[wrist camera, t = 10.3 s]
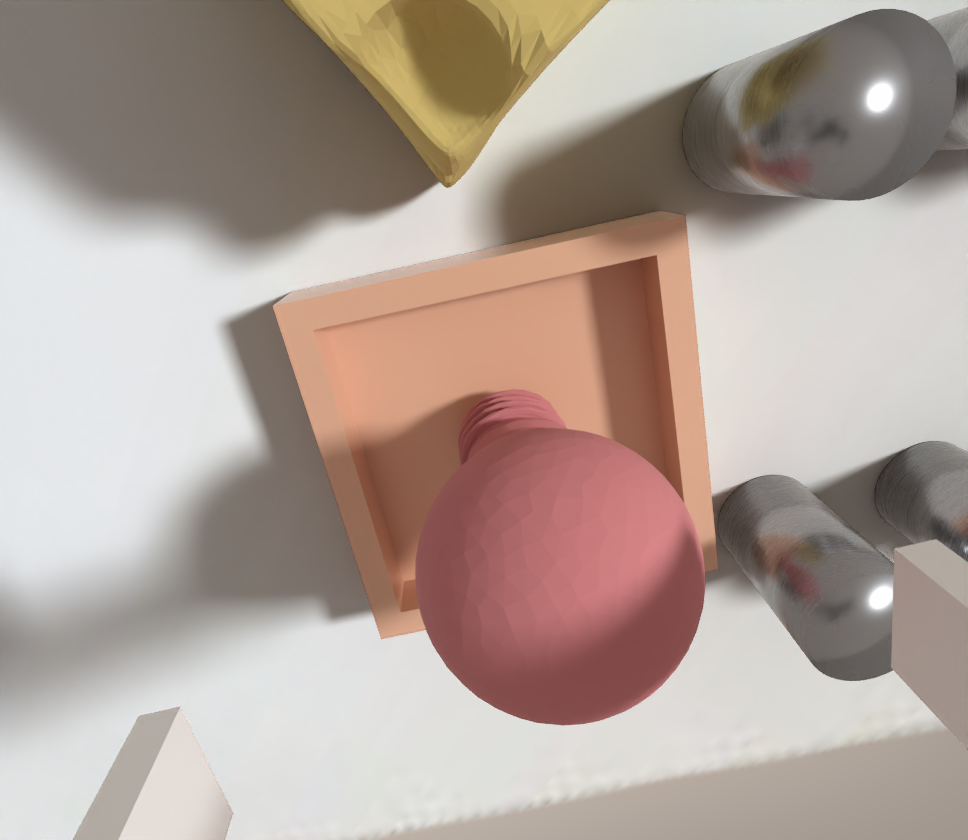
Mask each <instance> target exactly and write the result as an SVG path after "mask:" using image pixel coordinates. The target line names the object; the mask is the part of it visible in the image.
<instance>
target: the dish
mask: <svg viewBox="0 0 968 840" xmlns="http://www.w3.org/2000/svg"><path fill="white" fill-rule="evenodd" d="M273 309H274V312H275V315H276V318H277V321H278V325H279V328H280V331H281V334H282V337H283V340H284V343H285V346H286V349H287V352H288V355H289V358H290V361H291V364H292V367H293V370H294V374H295V377H296V380H297V383H298V386H299V389H300V392H301V395H302V398H303V401H304V404H305V407H306V410H307V413H308V416H309V419H310V422H311V426H312V429H313V432H314V435H315V438H316V441H317V444H318V447H319V450H320V453H321V456H322V459H323V462H324V465H325V468H326V471H327V475H328V478H329V481H330V484H331V487H332V490H333V493H334V496H335V499H336V502H337V505H338V508H339V511H340V514H341V517H342V520H343V523H344V527H345V530H346V533H347V536H348V539H349V542H350V545H351V548H352V551H353V554H354V557H355V560H356V563H357V566H358V569H359V572H360V575H361V579H362V582H363V585H364V588H365V591H366V594H367V597H368V600H369V603H370V606H371V609H372V612H373V615H374V618H375V621H376V624H377V628H378V631H379V634H380V637H381V639H384V638H389V637H394V636H399V635H403V634H408V633H413V632H418V631H423V630H426V628H425V625H424V623H423V620H422V617H421V613H420V609H419V604H418V599H417V594H416V580H415V561H416V553H417V548H418V543H419V537H420V533H421V530H422V527H423V524H424V521H425V518H426V515H427V513H428V511H429V509H430V507H431V506H432V504H433V502H434V500H435V499H436V497H437V495H438V493H439V491H440V490H441V488H442V487H443V485H444V484H445V483H446V482H447V480H448V479H449V478H450V477H451V476H452V475H453V473H454V472H455V471H456V470H457V469H458V468H459V467H460V466H461V465H460V456H459V448H458V438H459V432H460V429H461V425H462V421H463V420H464V418H465V416H466V415H467V413H468V412H469V410H470V409H471V408H472V407H473V406H474V405H475V404H476V403H477V402H479V401H480V400H482V399H483V398H485V397H486V396H488V395H491V394H493V393H496V392H500V391H506V390H512V389H517V390H526V391H529V392H532V393H535V394H539V395H540V396H541V397H543V398H544V399H545V400H547V401H548V402H550V404H551V405H552V406H553V408H554V409H555V411H556V412H557V414H558V415H559V416H560V418H561V419H562V420H563V421H564V423H565V425H566V427H567V429H572V430H579V431H585V432H590V433H593V434H597V435H601V436H603V437H606V438H608V439H611V440H613V441H616V442H618V443H620V444H622V445H624V446H625V447H627V448H629V449H631V450H633V451H634V452H636V453H637V454H639V455H640V456H641V457H643V458H644V459H645V460H647V461H648V462H649V463H651V464H652V465H653V466H654V467H655V468H656V469H657V470H658V471H659V472H660V473H661V474H662V475H664V477H665V478H666V479H667V480H668V481H669V483H670V484H671V485H672V486H673V488H674V489H675V491H676V492H677V493H678V495H679V496H680V498H681V499H682V501H683V502H684V504H685V506H686V508H687V510H688V512H689V514H690V516H691V518H692V520H693V522H694V524H695V528H696V531H697V534H698V537H699V541H700V544H701V547H702V553H703V559H704V570H705V572H709V571H714V570H719V569H718V559H717V548H716V537H715V526H714V516H713V505H712V494H711V484H710V473H709V462H708V451H707V441H706V430H705V419H704V409H703V398H702V387H701V377H700V366H699V355H698V344H697V334H696V323H695V312H694V302H693V291H692V280H691V269H690V259H689V248H688V237H687V227H686V216H685V215H682V214H676V213H670V212H665V211H656V212H651V213H647V214H642V215H638V216H633V217H629V218H624V219H620V220H615V221H610V222H606V223H601V224H597V225H592V226H588V227H583V228H579V229H574V230H570V231H565V232H561V233H556V234H552V235H547V236H542V237H538V238H533V239H529V240H524V241H520V242H515V243H511V244H506V245H502V246H497V247H493V248H488V249H483V250H479V251H474V252H470V253H465V254H461V255H456V256H452V257H447V258H443V259H438V260H434V261H429V262H425V263H420V264H415V265H411V266H406V267H402V268H397V269H393V270H388V271H384V272H379V273H375V274H370V275H366V276H361V277H357V278H352V279H347V280H343V281H338V282H334V283H329V284H325V285H320V286H316V287H311V288H307V289H302V290H298V291H293V292H290V293H289V294H288V295H286V296H285V297H284V298H282V299H281V300H280V301H278V302H277V303H276V304H274V305H273Z"/></svg>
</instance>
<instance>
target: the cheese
mask: <svg viewBox="0 0 968 840" xmlns="http://www.w3.org/2000/svg"><path fill="white" fill-rule="evenodd" d="M282 1H283V2H284V3H285V4H286V5H287V6H288V7H289V8H290V9H291V10H292V11H293V12H294V13H295V14H296V15H297V16H298V17H299V18H300V19H301V20H302V21H303V22H304V23H305V24H306V25H307V26H308V27H309V28H310V29H311V30H313V31H314V32H315V33H316V34H317V35H318V36H319V37H320V38H321V39H322V40H323V41H324V42H325V43H326V44H327V46H328V47H329V48H330V49H331V50H332V51H333V52H334V53H335V54H336V55H337V56H338V58H339V59H340V60H341V61H342V62H343V63H344V64H345V65H346V66H347V68H348V69H349V70H350V71H351V72H352V73H353V74H354V75H355V77H356V78H357V79H358V80H359V81H360V82H361V83H362V85H363V86H364V87H365V88H366V89H367V90H368V91H369V93H370V94H371V95H372V96H373V97H374V98H375V99H376V100H377V102H378V103H379V104H380V105H381V106H382V107H383V109H384V110H385V111H386V112H387V113H388V115H389V116H390V117H391V118H392V120H393V121H394V122H395V123H396V124H397V126H398V127H399V128H400V129H401V131H402V132H403V133H404V135H405V136H406V137H407V139H408V140H409V141H410V143H411V144H412V145H413V147H414V148H415V149H416V151H417V152H418V154H419V155H420V156H421V158H422V159H423V160H424V162H425V163H426V164H427V166H428V167H429V168H430V170H431V171H432V172H433V173H434V175H435V176H436V177H437V179H438V180H439V181H440V182H441V183H442V184H443V185H444V186H445V187H447V188H448V187H451V186H452V185H454V184H455V183H456V182H457V181H458V180H459V179H460V178H461V177H462V176H463V175H464V174H465V173H466V172H467V170H468V169H469V168H470V167H471V165H472V164H473V162H474V161H475V160H476V158H477V157H478V155H479V153H480V152H481V150H482V149H483V147H484V146H485V144H486V143H487V141H488V140H489V138H490V137H491V135H492V133H493V132H494V130H495V128H496V127H497V125H498V124H499V122H500V121H501V120H502V119H503V118H504V116H505V115H506V114H507V113H508V112H509V110H510V109H511V108H512V107H513V105H514V104H515V103H516V102H517V101H518V99H519V98H520V97H521V96H522V95H523V94H524V93H525V91H526V90H527V89H528V88H529V87H530V86H531V84H532V83H533V82H534V81H535V80H536V79H537V78H538V76H539V75H540V74H541V73H542V72H543V71H544V70H545V69H546V67H547V66H548V65H549V64H550V63H551V62H552V61H553V60H554V59H555V58H556V56H557V55H558V54H559V53H560V52H561V51H562V50H563V49H564V48H565V47H566V46H567V44H568V43H569V42H570V41H571V40H572V39H573V38H574V37H575V36H576V35H577V34H578V33H579V32H580V31H581V30H582V29H583V28H584V27H585V25H586V24H587V23H588V22H589V21H590V20H591V19H592V18H593V17H594V16H595V15H596V14H597V13H598V12H599V11H600V10H601V9H602V8H603V7H604V6H605V5H606V4H607V3H608V2H609V1H610V0H282Z"/></svg>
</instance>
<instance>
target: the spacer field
mask: <svg viewBox="0 0 968 840" xmlns="http://www.w3.org/2000/svg"><path fill="white" fill-rule="evenodd" d="M683 146H684V152H685V155H686V159H687V161H688V163H689V165H690V167H691V169H692V170H693V172H694V173H695V174H696V176H697V177H698V178H699V179H700V180H701V181H703V182H704V183H705V184H707V185H708V186H710V187H712V188H714V189H716V190H719V191H723V192H729V193H742V194H757V195H772V196H787V197H802V198H818V199H833V200H848V201H851V200H865V199H871V198H874V197H878V196H881V195H883V194H886V193H888V192H890V191H892V190H894V189H896V188H897V187H899V186H901V185H902V184H904V183H905V182H907V181H908V180H909V179H911V178H912V177H913V176H914V175H915V174H916V173H917V172H919V171H920V170H921V169H922V167H923V166H924V165H925V164H926V163H927V162H928V161H929V159H930V158H931V157H932V155H933V154H934V153H935V151H937V150H958V149H968V7H967V8H964V9H961V10H958V11H955V12H952V13H949V14H946V15H943V16H939V17H936V18H933V19H931V20H929V21H926V20H925V19H923V18H921V17H919V16H917V15H915V14H913V13H910V12H907V11H903V10H896V9H879V10H873V11H868V12H865V13H862V14H858V15H856V16H853V17H851V18H848V19H845V20H843V21H840V22H838V23H835V24H833V25H830V26H827V27H825V28H822V29H820V30H817V31H815V32H812V33H809V34H807V35H804V36H802V37H799V38H797V39H794V40H792V41H789V42H786V43H784V44H781V45H779V46H776V47H774V48H771V49H768V50H766V51H763V52H761V53H758V54H756V55H753V56H750V57H748V58H745V59H743V60H740V61H738V62H735V63H732V64H730V65H728V66H726V67H723V68H722V69H720V70H718V71H717V72H715V73H714V74H713V75H711V76H710V77H709V78H708V79H707V80H706V81H705V82H704V83H703V84H702V85H701V86H700V88H699V89H698V90H697V92H696V93H695V95H694V97H693V98H692V100H691V102H690V104H689V107H688V109H687V112H686V115H685V119H684V124H683ZM875 504H876V508H877V510H878V512H879V514H880V515H881V517H882V518H883V519H884V520H885V521H886V522H888V523H889V524H890V525H891V526H893V527H894V528H895V529H896V530H898V531H899V532H900V533H901V534H903V535H904V536H905V537H906V538H908V539H909V540H910V541H912V542H913V543H914V544H917V543H921V542H926V541H930V540H935V539H937V540H938V541H939V542H941V543H942V544H943V545H945V546H946V547H948V548H949V549H950V550H952V551H953V552H954V553H956V554H957V555H959V556H960V557H961V558H963V559H964V560H965V561H967V562H968V452H966V451H965V450H963V449H961V448H959V447H957V446H955V445H953V444H950V443H947V442H941V441H930V442H924V443H921V444H917V445H915V446H912V447H910V448H908V449H906V450H905V451H903V452H901V453H900V454H899V455H897V456H896V457H895V458H894V459H893V460H892V461H891V462H890V463H889V464H888V465H887V466H886V468H885V469H884V470H883V472H882V473H881V475H880V477H879V479H878V482H877V485H876V489H875ZM718 531H719V536H720V539H721V541H722V543H723V544H724V546H725V547H726V548H727V550H728V551H729V552H730V554H731V555H732V557H733V558H734V559H735V561H736V562H737V563H738V565H739V566H740V567H741V569H742V570H743V571H744V573H745V574H746V575H747V577H748V578H749V579H750V581H751V582H752V583H753V585H754V586H755V587H756V589H757V590H758V591H759V593H760V594H761V596H762V597H763V598H764V600H765V601H766V602H767V604H768V605H769V606H770V608H771V609H772V610H773V612H774V613H775V614H776V616H777V617H778V618H779V620H780V621H781V622H782V624H783V625H784V626H785V628H786V629H787V630H788V632H789V633H790V635H791V636H792V637H793V639H794V640H795V641H796V643H797V644H798V645H799V647H800V648H801V649H802V651H803V652H804V653H805V655H806V656H807V657H808V659H809V660H810V661H811V663H812V664H813V665H814V666H815V667H816V668H817V669H818V670H819V671H820V672H822V673H823V674H825V675H827V676H829V677H832V678H835V679H839V680H846V681H860V680H867V679H871V678H875V677H878V676H881V675H884V674H886V673H888V672H890V671H892V670H893V669H892V668H891V653H892V616H893V580H894V564H893V563H892V562H891V561H889V560H888V559H887V558H886V557H885V556H884V555H883V554H881V553H880V552H879V551H878V550H877V549H876V548H875V547H873V546H872V545H871V544H870V543H869V542H868V541H867V540H865V539H864V538H863V537H862V536H861V535H860V534H859V533H857V532H856V531H855V530H854V529H853V528H852V527H851V526H849V525H848V524H847V523H846V522H845V521H844V520H843V519H841V518H840V517H839V516H838V515H837V514H836V513H835V512H833V511H832V510H831V509H830V508H829V507H828V506H827V505H825V504H824V503H823V502H822V501H821V500H820V499H819V498H817V497H816V496H815V495H814V494H813V493H812V492H811V491H810V490H808V489H807V488H806V487H805V486H804V485H803V484H801V483H800V482H799V481H797V480H795V479H793V478H790V477H787V476H782V475H768V476H762V477H758V478H755V479H753V480H750V481H749V482H747V483H745V484H743V485H742V486H740V487H739V488H738V489H736V490H735V491H734V492H733V493H732V494H731V495H730V496H729V498H728V499H727V500H726V502H725V504H724V505H723V507H722V509H721V512H720V515H719V520H718Z"/></svg>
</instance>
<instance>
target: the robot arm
mask: <svg viewBox="0 0 968 840" xmlns="http://www.w3.org/2000/svg"><path fill="white" fill-rule="evenodd" d="M891 668H892V669H893V670H894V671H895V672H896V673H897V674H898V675H899V676H900V678H901V679H902V680H903V681H904V682H905V683H906V684H907V685H908V686H909V687H910V688H911V689H912V690H913V692H914V693H915V694H916V695H917V696H918V697H919V698H920V699H921V700H922V701H923V702H924V703H925V704H926V706H927V707H928V708H929V709H930V710H931V711H932V712H933V713H934V714H935V715H936V716H937V717H938V718H939V720H940V721H941V722H942V723H943V724H944V725H945V726H946V727H947V728H948V729H949V730H950V731H951V732H952V733H953V735H954V736H955V737H956V738H957V739H958V740H959V741H960V742H961V743H962V744H963V745H964V746H965V748H967V750H968V562H967V561H965V560H964V559H963V558H961V557H960V556H959V555H957V554H956V553H954V552H953V551H952V550H950V549H949V548H948V547H946V546H945V545H943V544H942V543H941V542H939V541H938V540H937V539H935V540H930V541H926V542H921V543H917V544H912V545H908V546H903V547H899V548H894V580H893V616H892V653H891ZM232 814H233V812H232V810H231V808H230V806H229V804H228V802H227V800H226V798H225V796H224V794H223V792H222V790H221V788H220V786H219V784H218V782H217V780H216V778H215V776H214V774H213V772H212V770H211V768H210V766H209V764H208V762H207V760H206V758H205V756H204V754H203V751H202V749H201V747H200V745H199V743H198V741H197V739H196V737H195V735H194V733H193V731H192V729H191V727H190V725H189V723H188V721H187V719H186V717H185V715H184V713H183V711H182V709H181V707H177V708H173V709H168V710H164V711H159V712H155V713H150V714H146V715H141V716H139V717H138V719H137V720H136V722H135V724H134V726H133V728H132V730H131V732H130V734H129V735H128V737H127V739H126V741H125V743H124V745H123V747H122V748H121V750H120V752H119V754H118V756H117V758H116V760H115V762H114V763H113V765H112V767H111V769H110V771H109V773H108V775H107V777H106V778H105V780H104V782H103V784H102V786H101V788H100V790H99V791H98V793H97V795H96V797H95V799H94V801H93V803H92V805H91V806H90V808H89V810H88V812H87V814H86V816H85V818H84V819H83V821H82V823H81V825H80V827H79V829H78V831H77V833H76V834H75V836H74V838H73V840H225V837H226V834H227V831H228V827H229V824H230V821H231V818H232Z"/></svg>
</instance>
